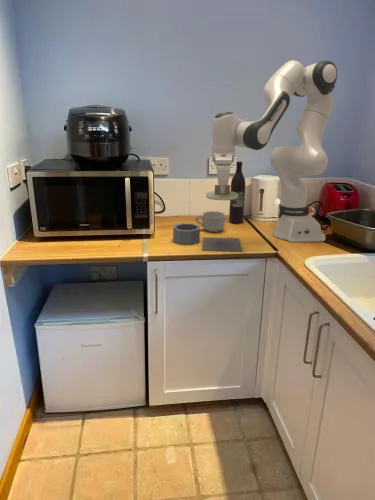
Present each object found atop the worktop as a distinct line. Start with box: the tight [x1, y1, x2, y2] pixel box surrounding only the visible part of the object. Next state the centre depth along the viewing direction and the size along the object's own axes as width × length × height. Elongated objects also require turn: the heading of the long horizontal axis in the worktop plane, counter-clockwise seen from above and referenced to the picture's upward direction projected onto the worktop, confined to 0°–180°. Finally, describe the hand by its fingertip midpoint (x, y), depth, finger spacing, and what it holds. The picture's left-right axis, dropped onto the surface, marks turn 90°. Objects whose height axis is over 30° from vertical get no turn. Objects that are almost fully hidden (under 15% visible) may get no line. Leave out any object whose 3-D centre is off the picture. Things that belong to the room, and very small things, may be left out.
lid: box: [205, 184, 238, 201], centre depth 151 cm, size 13×13×4 cm
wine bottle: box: [228, 161, 246, 225], centre depth 186 cm, size 7×7×30 cm
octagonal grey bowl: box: [172, 222, 201, 246], centre depth 162 cm, size 11×11×6 cm
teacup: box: [194, 210, 226, 233], centre depth 177 cm, size 14×11×8 cm
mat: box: [201, 236, 243, 253], centre depth 159 cm, size 16×16×1 cm
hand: (222, 191), depth 152 cm, fingers closed on lid, 2 cm apart
